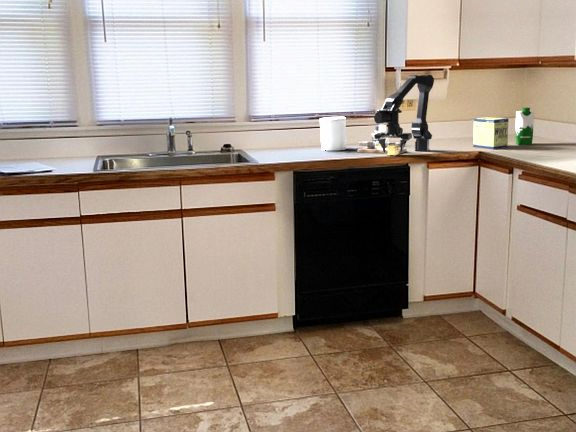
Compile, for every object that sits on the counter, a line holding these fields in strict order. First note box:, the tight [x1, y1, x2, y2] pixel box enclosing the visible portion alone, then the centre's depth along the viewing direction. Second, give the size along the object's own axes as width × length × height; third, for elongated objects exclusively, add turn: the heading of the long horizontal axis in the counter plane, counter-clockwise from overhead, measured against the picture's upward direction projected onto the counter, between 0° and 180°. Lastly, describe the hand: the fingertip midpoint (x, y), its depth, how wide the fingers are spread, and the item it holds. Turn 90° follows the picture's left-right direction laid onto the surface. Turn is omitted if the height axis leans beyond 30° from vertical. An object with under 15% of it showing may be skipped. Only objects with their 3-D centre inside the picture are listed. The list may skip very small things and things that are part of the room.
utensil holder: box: [319, 116, 347, 152], centre depth 382 cm, size 15×15×18 cm
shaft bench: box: [356, 140, 408, 155], centre depth 364 cm, size 26×10×5 cm, turn 59°
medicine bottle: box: [371, 124, 390, 148], centre depth 389 cm, size 7×7×12 cm
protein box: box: [472, 116, 509, 150], centre depth 365 cm, size 10×16×16 cm
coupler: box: [387, 145, 400, 157], centre depth 352 cm, size 4×5×5 cm
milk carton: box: [514, 107, 535, 146], centre depth 371 cm, size 9×9×20 cm
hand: (393, 152), depth 352 cm, fingers open, 9 cm apart
